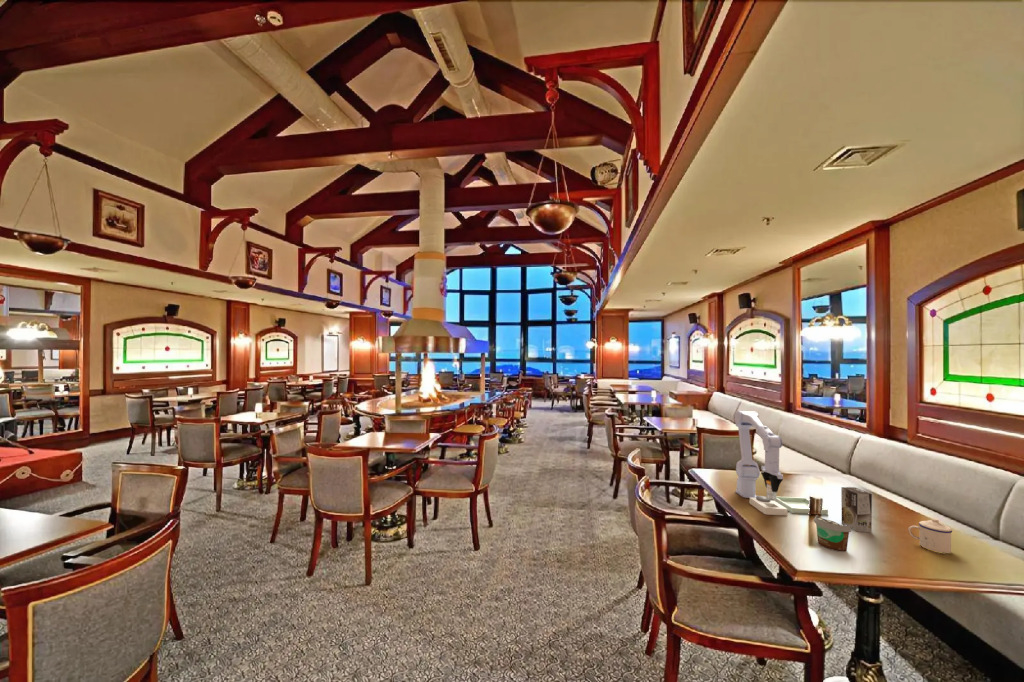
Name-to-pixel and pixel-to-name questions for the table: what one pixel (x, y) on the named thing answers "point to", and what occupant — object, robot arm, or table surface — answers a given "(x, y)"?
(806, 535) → the table surface
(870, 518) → the coffee box
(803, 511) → the tray
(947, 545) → the teacup with lid
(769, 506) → the plate
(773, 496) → the jar
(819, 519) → the food container
